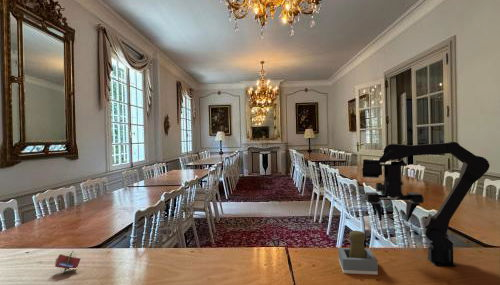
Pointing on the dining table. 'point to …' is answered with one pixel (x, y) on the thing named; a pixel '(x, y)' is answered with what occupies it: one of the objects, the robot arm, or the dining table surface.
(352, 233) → the cork
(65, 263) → the geometric puzzle
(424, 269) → the dining table surface
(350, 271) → the box
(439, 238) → the robot arm
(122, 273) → the dining table surface
